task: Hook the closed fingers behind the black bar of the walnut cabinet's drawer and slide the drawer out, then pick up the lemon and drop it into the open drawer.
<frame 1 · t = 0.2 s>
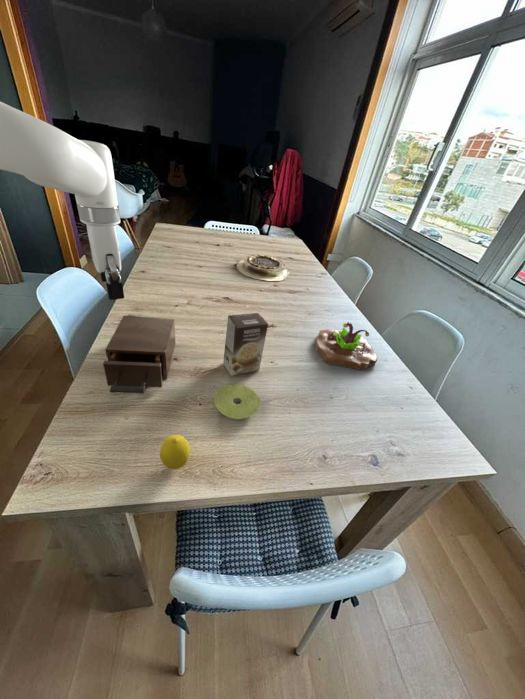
hand: (112, 289, 71), 20 cm above the table, tool pointing down, fingers open, 9 cm apart
green disc: (236, 406, 73), on the table
lemon: (176, 464, 58), on the table
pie: (263, 270, 149), on the table
cabinet: (146, 358, 82), on the table
drawer: (138, 364, 73), point 4 cm above the table, slide at 3.0 cm
plant: (342, 351, 100), on the table
coffee box: (241, 367, 85), on the table
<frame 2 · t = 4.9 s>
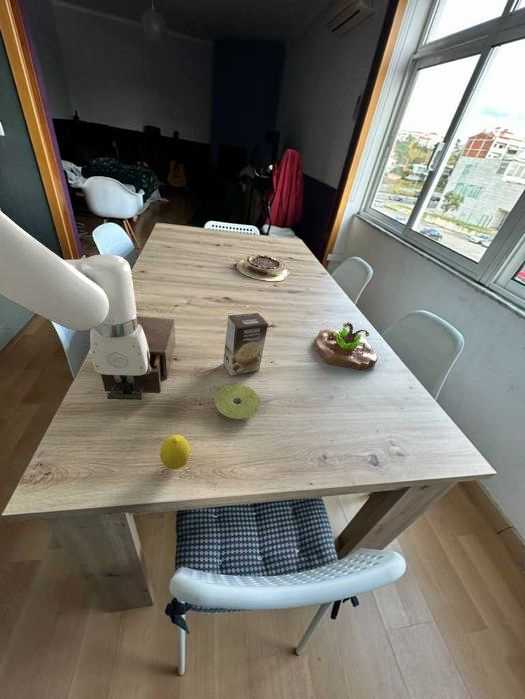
hand: (128, 391, 66), 4 cm above the table, tool pointing down, fingers closed
drawer: (136, 369, 72), point 4 cm above the table, slide at 5.0 cm, touching gripper
everything else where it was.
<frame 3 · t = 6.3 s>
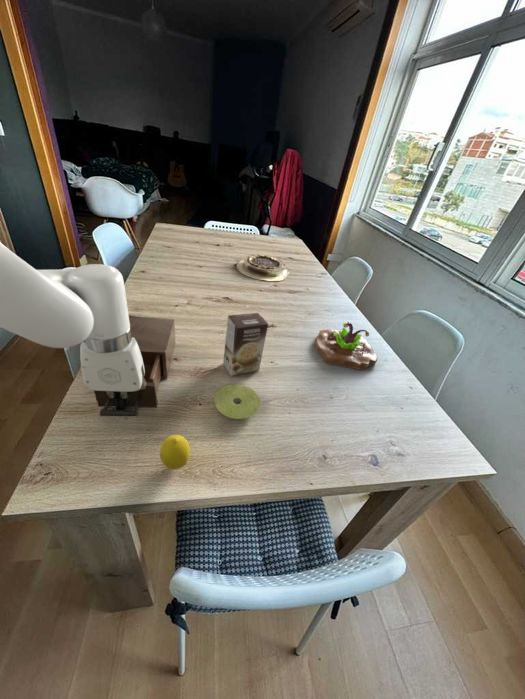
hand: (122, 406, 63), 4 cm above the table, tool pointing down, fingers closed
drawer: (131, 382, 68), point 4 cm above the table, slide at 9.7 cm, touching gripper
everything else where it was.
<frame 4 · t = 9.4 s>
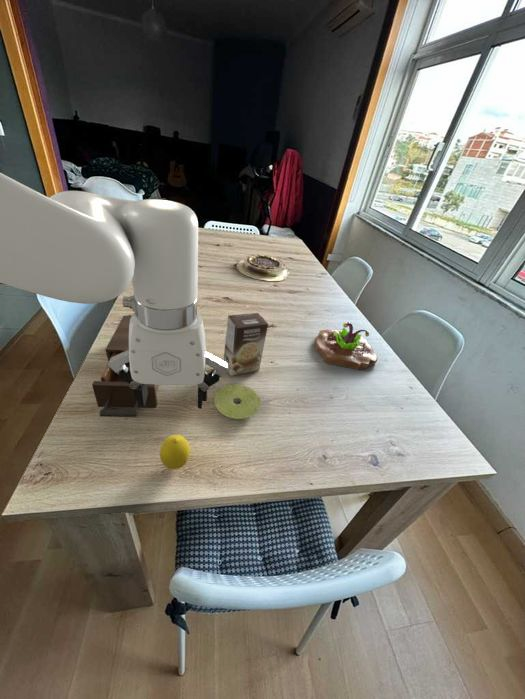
hand: (172, 401, 48), 18 cm above the table, tool pointing down, fingers open, 8 cm apart
drawer: (130, 383, 68), point 4 cm above the table, slide at 9.9 cm
everything else where it was.
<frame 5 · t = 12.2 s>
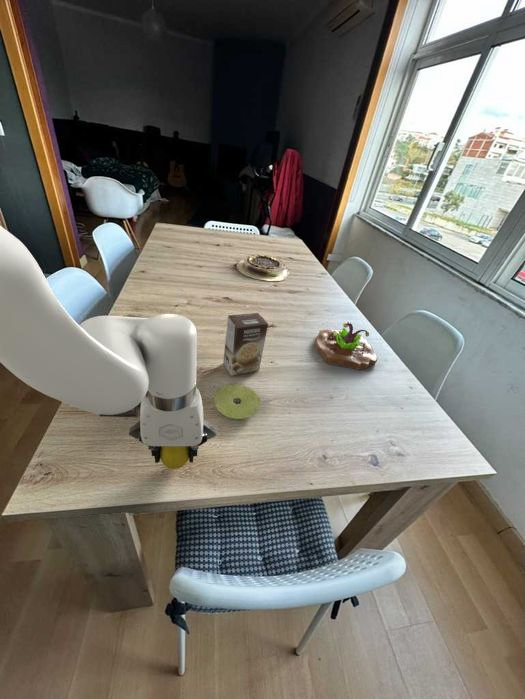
hand: (175, 455, 57), 3 cm above the table, tool pointing down, fingers closed on lemon, 5 cm apart
lemon: (176, 464, 58), on the table, touching gripper
everything else where it was.
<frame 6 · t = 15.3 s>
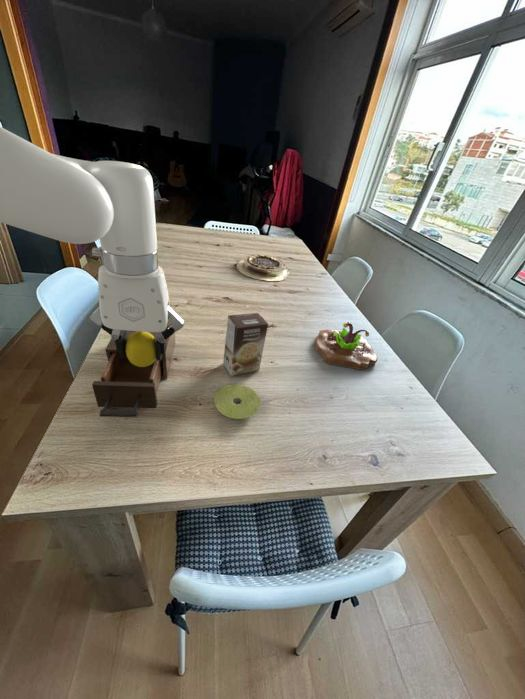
hand: (142, 354, 54), 19 cm above the table, tool pointing down, fingers closed on lemon, 5 cm apart
lemon: (144, 366, 56), point 16 cm above the table, touching gripper
everything else where it was.
when the fingers open (11 cm above the table, at t = 18.8 s): lemon drops 6 cm, resting on drawer.
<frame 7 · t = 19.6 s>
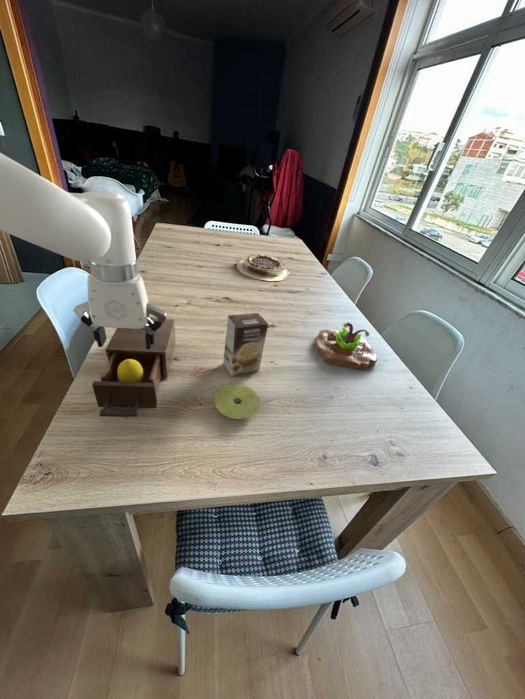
hand: (126, 344, 63), 14 cm above the table, tool pointing down, fingers open, 9 cm apart
lemon: (133, 386, 71), point 2 cm above the table, touching drawer
drawer: (131, 383, 68), point 4 cm above the table, slide at 9.9 cm, touching lemon
everything else where it was.
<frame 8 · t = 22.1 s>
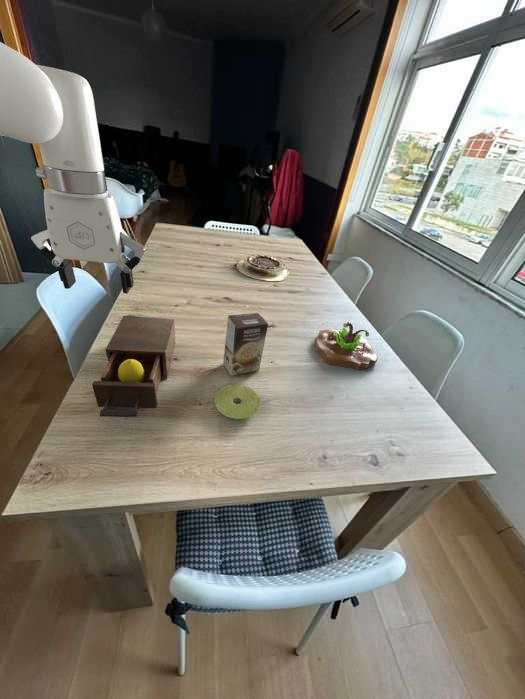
hand: (99, 287, 53), 28 cm above the table, tool pointing down, fingers open, 9 cm apart
nothing on the table moved.
at the end: drawer slide at 9.9 cm; lemon inside the target area in the drawer (1.2 cm from its centre), point 1.9 cm above the cabinet's base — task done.
